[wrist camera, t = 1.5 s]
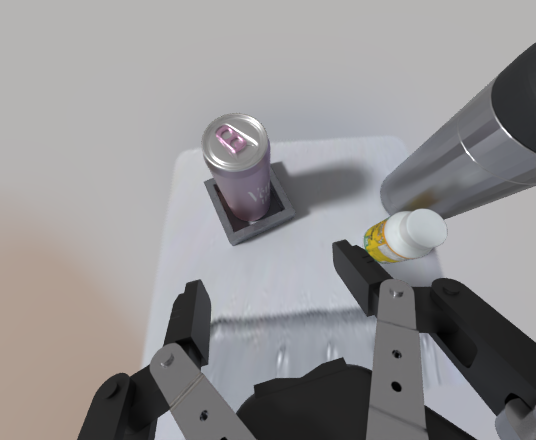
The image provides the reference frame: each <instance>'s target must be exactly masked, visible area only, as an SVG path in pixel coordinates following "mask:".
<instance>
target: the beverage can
mask: <svg viewBox="0 0 536 440" xmlns="http://www.w3.org/2000/svg"><path fill="white" fill-rule="evenodd" d="M202 150H203V156H204V160H205V162H206V164H207V166H208V168H209V170H210V172H211V174H212V175H213V177H214V179H215V181H216V183H217V185H218V187H219V189H220V190H221V192H222V194H223V196H224V198H225V200H226V202H227V204H228V206H229V207H230V209H231V211H232V213H233V214H234V215H235V216H236V217H237V218H239V219H241V220H244V221H255V220H258V219H260V218H261V217H263V216H264V215H265V214H266V213H267V211H268V209H269V207H270V142H269V139H268V136H267V133H266V130H265V128H264V127H263V125H262V124H261V123H260V122H259V121H258V120H256V119H255V118H253V117H251V116H249V115H246V114H240V113H232V114H227V115H223V116H221V117H219V118H217V119H215V120H214V121H213V122H212V123H210V124H209V125H208V127H207V128H206V130H205V131H204V134H203V136H202Z"/></svg>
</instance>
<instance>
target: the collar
mask: <svg viewBox="0 0 536 440" xmlns="http://www.w3.org/2000/svg"><path fill="white" fill-rule="evenodd" d="M204 184H205V186H206V188H207V191H208V193H209V195H210V198H211V200H212V202H213V205H214V207H215V209H216V212H217V214H218V216H219V219H220V221H221V223H222V226H223V228H224V230H225V233H226V235H227V237H228V240H229V242H230V243H231V244H232V246H234V245H236V244H238V243H240V242H243V241H245V240H247V239H249V238H251V237H253V236H256V235H258V234H260V233H262V232H264V231H266V230H269V229H271V228H273V227H275V226H277V225H279V224H281V223H284V222H286V221H288V220H290V219H292V218H294V216H295V213H296V212H295V211H294V209H293V207H292V205H291V203H290V201H289V199H288V197H287V196H286V194H285V192H284V190H283V188H282V186H281V184H280V182H279V181H278V179H277V177H276V175H275V173H274V171H273V169H272V168H271V166H270V188H271V190H272V192H273V194H274V196H275V197H276V199H277V201H278V203H279V205H280V207H281V209H282V211H281V212H278V213H276V214H274V215H272V216H270V217H267V218H265V219H263V220H261V221H259V222H256V223H254V224H252V225H250V226H248V227H245V228H243V229H241V230H239V231H237V232H234V229H233V227H232V225H231V223H230V220H229V218H228V216H227V214H226V211H225V209H224V207H223V205H222V202H221V200H220V198H219V195H218V193H217V192H218V191H221V190H220V189H219V187H218V185H217V183H216V181H215V179H214V178H212V179H210V180H207V181H205V182H204Z"/></svg>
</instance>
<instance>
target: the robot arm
mask: <svg viewBox="0 0 536 440" xmlns="http://www.w3.org/2000/svg"><path fill="white" fill-rule="evenodd" d="M533 186H536V43H534V44H533V45H532V46H530V47H529V48H528V49H527V50H525V51H524V52H523V53H522V54H521V55H519V56H518V57H517V58H516V59H515V60H514V61H513V62H512V63H511V64H510V65H509V66H508V67H506V68H505V69H504V70H503V71H502V72H501V73H500V74H499V75H498V76H497V77H496V78H495V79H493V80H492V81H491V82H490V83H489V84H488V85H487V86H486V87H485V88H484V89H483V90H481V91H480V92H479V93H478V94H477V95H476V96H475V97H474V98H473V99H472V100H470V101H469V102H468V103H467V104H466V105H465V106H464V107H463V108H462V109H461V110H460V111H459V112H458V113H456V114H455V115H454V116H453V117H452V118H451V119H450V120H449V121H448V122H447V123H445V124H444V125H443V126H442V127H441V128H440V129H439V130H438V131H437V132H436V133H435V134H433V135H432V136H431V137H430V138H429V139H428V140H427V141H426V142H425V143H424V144H423V145H422V146H420V147H419V148H418V149H417V150H416V151H415V152H414V153H413V154H411V155H410V156H409V157H408V158H407V159H406V160H405V161H404V162H403V163H401V164H400V165H399V166H398V167H397V168H396V169H395V170H394V171H393V172H392V173H391V174H389V175H388V176H387V177H386V179H385V180H384V181H383V184H382V186H381V191H380V193H381V200H382V204H383V206H384V208H385V209H386V211H387V212H388V213H389V215H390V216H392V215H394V214H396V213H398V212H402V211H411V212H412V211H415V210H417V209H429V210H432V211H434V212H436V213H437V214H439V215H440V216H441V217H442V219H443V220H444V219H447V218H450V217H453V216H455V215H458V214H461V213H464V212H466V211H469V210H472V209H474V208H477V207H480V206H482V205H485V204H488V203H490V202H493V201H496V200H498V199H501V198H504V197H507V196H509V195H512V194H515V193H517V192H520V191H522V190H525V189H528V188H531V187H533ZM332 248H333V263H334V267H335V269H336V271H337V273H338V275H339V276H340V277H341V279H342V280H343V282H344V283H345V285H346V286H347V288H348V289H349V291H350V292H351V294H352V295H353V297H354V298H355V299H356V301H357V302H358V304H359V305H360V307H361V308H362V310H363V311H364V313H365V314H366V316H367V317H369V316H372V315H375V317H376V318H377V326H376V336H375V347H374V358H373V369H372V371H371V370H369V369H367V368H364V367H362V366H358V365H352V364H346V362H345V360H344V358H343V357H342V358H339V359H336V360H333V361H329V362H326V363H323V364H321V365H319V366H318V367H316V368H315V369H313V370H312V371H311V372H309V373H308V374H306V375H305V376H303V377H301V378H275V379H272V380H269V381H266V382H263V383H260V384H256V385H254V392H255V393H254V394H253V395H251V396H250V397H249V398H248V399H247V400H246V401H245V402H244V403H243V404H242V405H241V407H240V408H239V409H238V411H237V412H236V414H235V412H234V411H233V410H232V409H231V407H230V406H229V405H228V404H227V402H226V401H225V400H224V399H223V398H222V396H221V395H220V394H219V393H218V391H217V390H216V389H215V388H214V386H213V385H212V384H211V383H210V381H209V380H208V379H207V378H206V376H205V375H204V374H203V373H201V367H202V366H205V365H208V359H209V340H210V322H211V301H210V298H209V295H208V293H207V291H206V289H205V287H204V285H203V283H202V281H201V280H200V279H199V280H195V281H192V282H188V283H186V287H185V292H184V293H183V294H179V295H178V297H177V299H176V300H175V302H174V304H173V308H172V313H171V316H170V320H169V324H168V328H167V332H166V336H165V340H164V345H163V347H162V348H161V349H160V350H158V351H157V353H156V354H155V355H154V356H153V358H152V360H151V363H150V364H149V365H148V366H147V367H145V368H143V369H142V370H140V371H138V372H137V373H135V374H133V375H132V376H130V377H129V376H128V375H127V374H125V373H119V374H116V375H114V376H112V377H110V378H109V379H108V380H107V381H105V382H104V383H103V384H102V386H101V387H100V388H99V389H98V391H97V392H96V394H95V396H94V398H93V400H92V403H91V405H90V408H89V410H88V413H87V416H86V418H85V421H84V423H83V426H82V428H81V431H80V433H79V436H78V439H77V440H154V438H155V432H156V426H157V419H158V417H160V416H161V415H163V414H164V413H165V412H167V411H168V410H170V412H171V414H172V415H173V417H174V419H175V421H176V423H177V424H178V426H179V428H180V430H181V431H182V433H183V435H184V437H185V439H186V440H477V439H475V438H474V437H472V436H471V435H469V434H468V433H466V432H465V431H463V430H462V429H460V428H458V427H457V426H456V425H454V424H453V423H451V422H450V421H448V420H447V419H445V418H444V417H442V416H441V415H439V414H438V413H436V412H435V411H433V410H431V409H430V408H428V407H427V406H425V405H424V394H423V380H422V366H421V351H420V337H419V333H429V335H430V336H431V337H432V338H433V340H434V341H435V342H436V343H437V344H438V346H439V347H440V348H441V349H442V351H443V352H444V353H445V354H446V355H447V357H448V358H449V359H450V360H451V361H452V363H453V364H454V365H455V366H456V368H457V369H458V370H459V371H460V372H461V374H462V375H463V376H464V377H465V379H466V380H467V381H468V382H469V383H470V385H471V386H472V387H473V388H474V389H475V391H476V392H477V393H478V394H479V396H480V397H481V398H482V399H483V400H484V402H485V403H486V404H487V405H488V406H489V408H490V409H491V410H492V411H493V413H494V414H495V415H496V416H497V418H496V420H495V427H496V431H497V434H498V436H499V437H500V439H501V440H536V342H534V341H533V340H532V339H531V338H529V337H528V336H527V335H526V334H524V333H523V332H522V331H521V330H519V329H518V328H517V327H516V326H515V325H513V324H512V323H511V322H510V321H508V320H507V319H506V318H505V317H503V316H502V315H501V314H500V313H498V312H497V311H496V310H495V309H494V308H492V307H491V306H490V305H489V304H487V303H486V302H485V301H484V300H483V299H481V298H480V297H479V296H478V295H476V294H475V293H474V292H472V291H471V290H470V289H469V288H468V287H466V286H465V285H464V284H462V283H460V282H458V281H456V280H453V279H448V278H439V279H436V280H434V281H433V283H432V286H431V287H411V286H410V285H408V284H407V283H405V282H403V281H401V280H397V279H393V278H392V277H391V276H390V275H389V274H388V273H387V272H386V271H385V270H384V269H383V268H382V267H381V266H380V264H379V263H378V262H377V261H375V259H374V258H373V257H372V256H370V254H369V253H368V252H367V251H366V250H365V249H363V248H361V247H359V246H357V245H355V246H351V245H350V243H349V242H348V241H347V240H341V241H337V242H334V243H333V244H332Z"/></svg>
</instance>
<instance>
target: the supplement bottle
mask: <svg viewBox="0 0 536 440" xmlns="http://www.w3.org/2000/svg"><path fill="white" fill-rule="evenodd" d="M446 237H447V226H446V224H445V222H444V220H443V219H442V217H441V216H440V215H439V214H437V213H436V212H434V211H432V210H429V209H417V210H415V211H412V212H411V211H402V212H398V213H396V214H394V215H392V216H390V217H388V218H387V219H385V220H383V221H382V222H380V223H378V224H376V225H374V226H373V227H371V228H369V229H368V230H367V231H366V232H365V234H364V236H363V249H365V250H366V251H367V252H368V253H369V254H370V256H372V257H373V258H374V259H375V261H377V262H378V263H382V264H388V263H394V262H399V261H405V260H410V259H415V258H420V257H423V256H425V255H426V254H428V253H429V252H430V251H431V250H432V248H434V247H437V246H439V245H441V244H442V243H443V242H444V241H445V240H446Z"/></svg>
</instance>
